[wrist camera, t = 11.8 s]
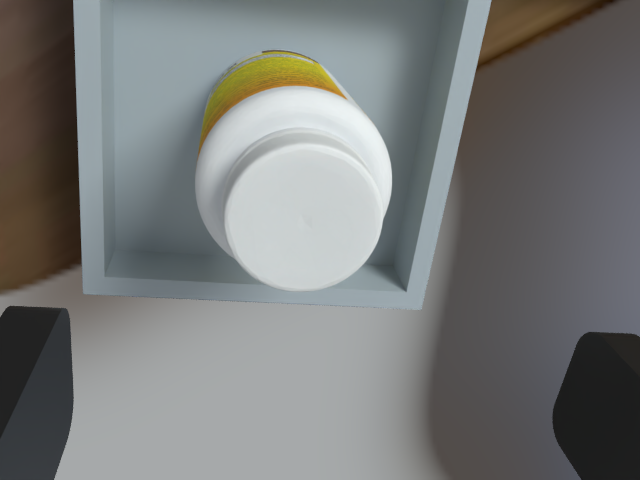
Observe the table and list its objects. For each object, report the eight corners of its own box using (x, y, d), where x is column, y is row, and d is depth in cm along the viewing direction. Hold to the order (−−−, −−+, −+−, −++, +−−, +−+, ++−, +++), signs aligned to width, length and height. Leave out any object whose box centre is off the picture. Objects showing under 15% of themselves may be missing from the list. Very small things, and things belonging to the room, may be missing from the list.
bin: (91, -101, 21) (69, -109, 18) (469, -43, 23) (501, -43, 20) (98, 259, 26) (82, 294, 23) (403, 276, 28) (421, 309, 26)
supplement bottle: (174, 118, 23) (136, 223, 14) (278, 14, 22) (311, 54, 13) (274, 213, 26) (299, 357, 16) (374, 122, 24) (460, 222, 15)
